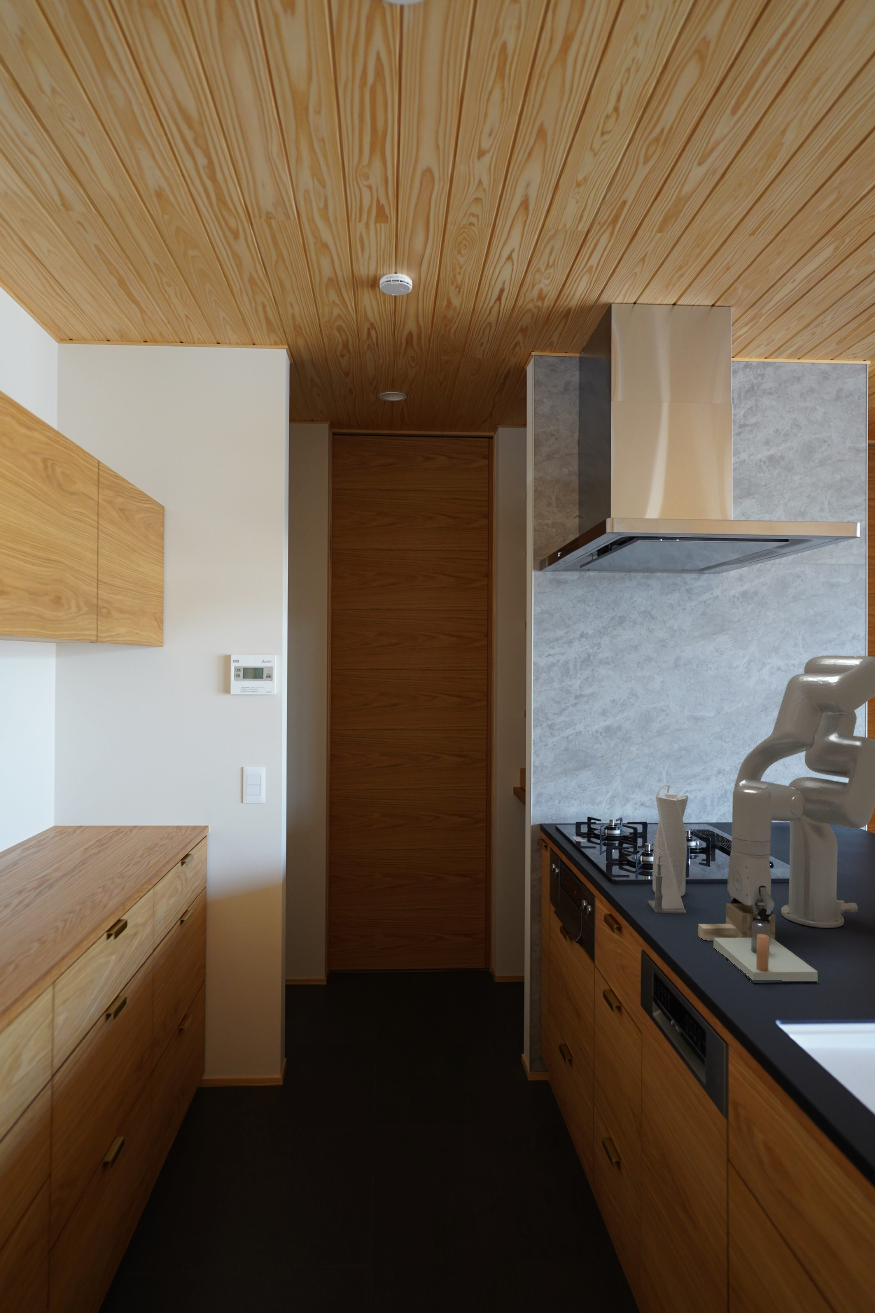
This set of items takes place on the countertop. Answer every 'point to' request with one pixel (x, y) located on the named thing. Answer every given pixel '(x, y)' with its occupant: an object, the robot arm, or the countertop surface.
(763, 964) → the dowel
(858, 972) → the countertop surface
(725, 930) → the open wooden box
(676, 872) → the skyscraper
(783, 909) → the robot arm
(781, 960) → the board
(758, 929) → the post
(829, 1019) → the countertop surface
